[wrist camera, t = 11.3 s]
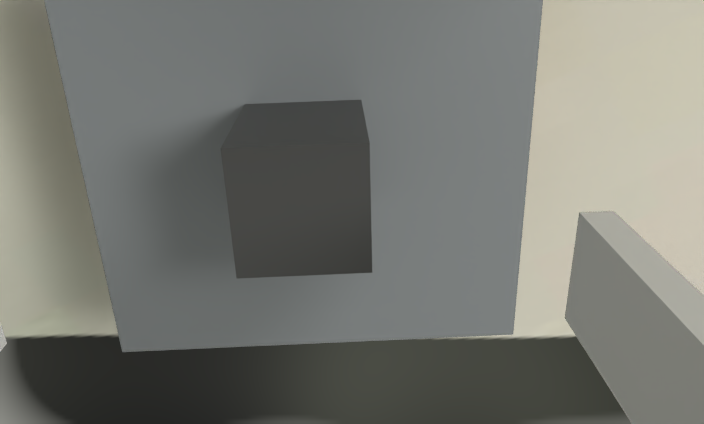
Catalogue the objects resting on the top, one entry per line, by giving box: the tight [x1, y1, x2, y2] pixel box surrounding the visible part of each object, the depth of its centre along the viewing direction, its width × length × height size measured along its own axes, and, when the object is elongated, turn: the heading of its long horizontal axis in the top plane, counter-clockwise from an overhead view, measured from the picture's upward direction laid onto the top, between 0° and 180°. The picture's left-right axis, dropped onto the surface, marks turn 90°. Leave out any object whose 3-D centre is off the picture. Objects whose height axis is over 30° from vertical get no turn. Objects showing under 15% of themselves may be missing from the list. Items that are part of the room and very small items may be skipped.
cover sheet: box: [44, 0, 543, 352], centre depth 20 cm, size 16×16×6 cm
